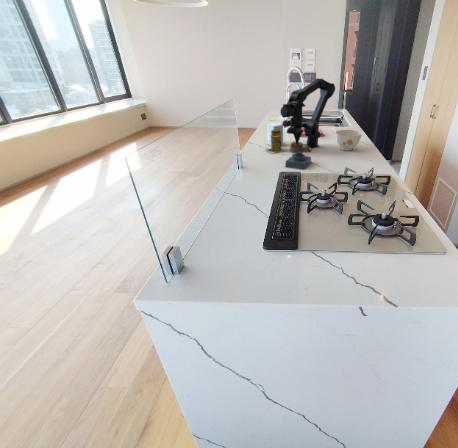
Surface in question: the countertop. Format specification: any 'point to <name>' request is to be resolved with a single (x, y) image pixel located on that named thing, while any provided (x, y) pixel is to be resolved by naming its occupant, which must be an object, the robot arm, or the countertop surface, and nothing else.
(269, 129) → the white packaging box
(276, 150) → the condiment
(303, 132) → the dish towel
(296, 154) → the nozzle
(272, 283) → the countertop surface
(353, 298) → the countertop surface
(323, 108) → the robot arm
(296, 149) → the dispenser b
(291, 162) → the dispenser
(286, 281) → the countertop surface
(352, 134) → the bowl
